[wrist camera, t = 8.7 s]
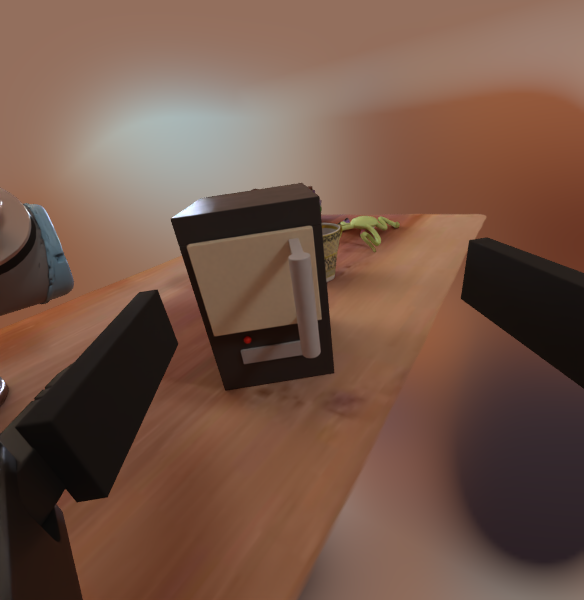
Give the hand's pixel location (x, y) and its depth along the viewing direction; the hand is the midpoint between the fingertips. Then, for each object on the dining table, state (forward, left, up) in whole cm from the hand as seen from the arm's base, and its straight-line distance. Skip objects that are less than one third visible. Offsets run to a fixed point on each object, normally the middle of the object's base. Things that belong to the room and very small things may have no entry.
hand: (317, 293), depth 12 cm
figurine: (+50, +47, -18) cm, 71 cm away
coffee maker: (+8, +21, -18) cm, 28 cm away
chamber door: (+2, +12, -10) cm, 16 cm away
